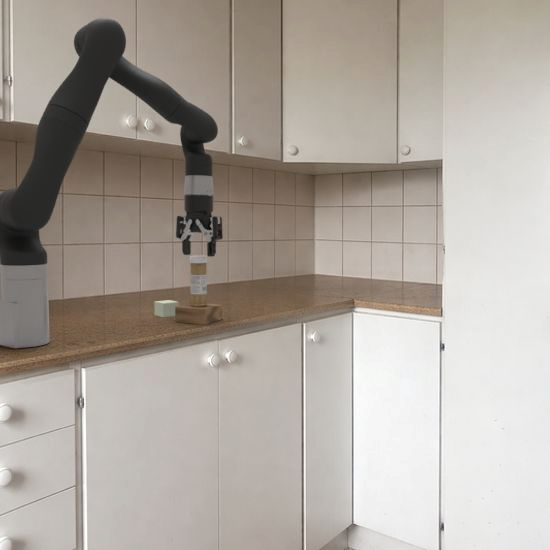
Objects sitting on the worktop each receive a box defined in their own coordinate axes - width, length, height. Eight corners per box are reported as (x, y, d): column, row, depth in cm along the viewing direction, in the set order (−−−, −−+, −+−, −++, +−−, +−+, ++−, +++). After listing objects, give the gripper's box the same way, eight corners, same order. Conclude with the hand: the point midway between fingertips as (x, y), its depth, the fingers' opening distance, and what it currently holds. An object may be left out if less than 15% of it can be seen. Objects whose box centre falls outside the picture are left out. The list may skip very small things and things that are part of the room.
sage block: (163, 317, 161) (163, 303, 161) (154, 315, 165) (154, 301, 164) (179, 316, 164) (179, 302, 164) (170, 313, 168) (170, 300, 168)
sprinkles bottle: (199, 304, 159) (199, 254, 158) (210, 305, 156) (210, 255, 155) (186, 305, 156) (186, 255, 154) (197, 307, 153) (197, 256, 151)
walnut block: (204, 324, 150) (204, 309, 150) (175, 321, 154) (175, 306, 154) (222, 319, 158) (222, 304, 158) (193, 316, 162) (193, 302, 162)
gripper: (169, 193, 154) (169, 255, 155) (210, 192, 146) (210, 257, 147) (188, 194, 160) (188, 253, 162) (229, 194, 152) (228, 256, 154)
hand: (198, 255), depth 155 cm, fingers open, 8 cm apart
